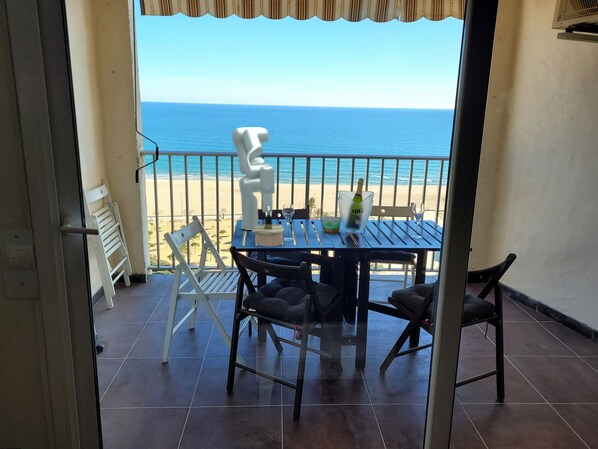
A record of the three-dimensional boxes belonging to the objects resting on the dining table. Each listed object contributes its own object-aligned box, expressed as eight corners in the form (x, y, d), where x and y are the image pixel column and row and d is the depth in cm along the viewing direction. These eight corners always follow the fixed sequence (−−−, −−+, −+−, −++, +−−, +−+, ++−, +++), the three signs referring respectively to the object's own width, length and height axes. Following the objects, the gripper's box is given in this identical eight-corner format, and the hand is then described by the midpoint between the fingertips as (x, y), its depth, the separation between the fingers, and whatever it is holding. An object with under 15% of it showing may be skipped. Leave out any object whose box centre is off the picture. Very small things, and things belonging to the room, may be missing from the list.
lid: (251, 227, 243) (251, 216, 241) (282, 225, 245) (282, 215, 244) (253, 235, 227) (252, 224, 225) (285, 234, 229) (285, 222, 227)
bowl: (255, 239, 243) (254, 227, 242) (280, 238, 245) (280, 226, 243) (256, 247, 230) (255, 234, 228) (283, 246, 232) (282, 233, 230)
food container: (319, 234, 254) (319, 217, 251) (320, 231, 259) (320, 214, 257) (341, 234, 252) (341, 218, 249) (341, 232, 258) (342, 215, 255)
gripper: (259, 187, 238) (260, 218, 242) (261, 193, 221) (262, 226, 226) (273, 187, 239) (274, 217, 243) (275, 193, 222) (276, 225, 227)
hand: (268, 221), depth 235 cm, fingers open, 9 cm apart
